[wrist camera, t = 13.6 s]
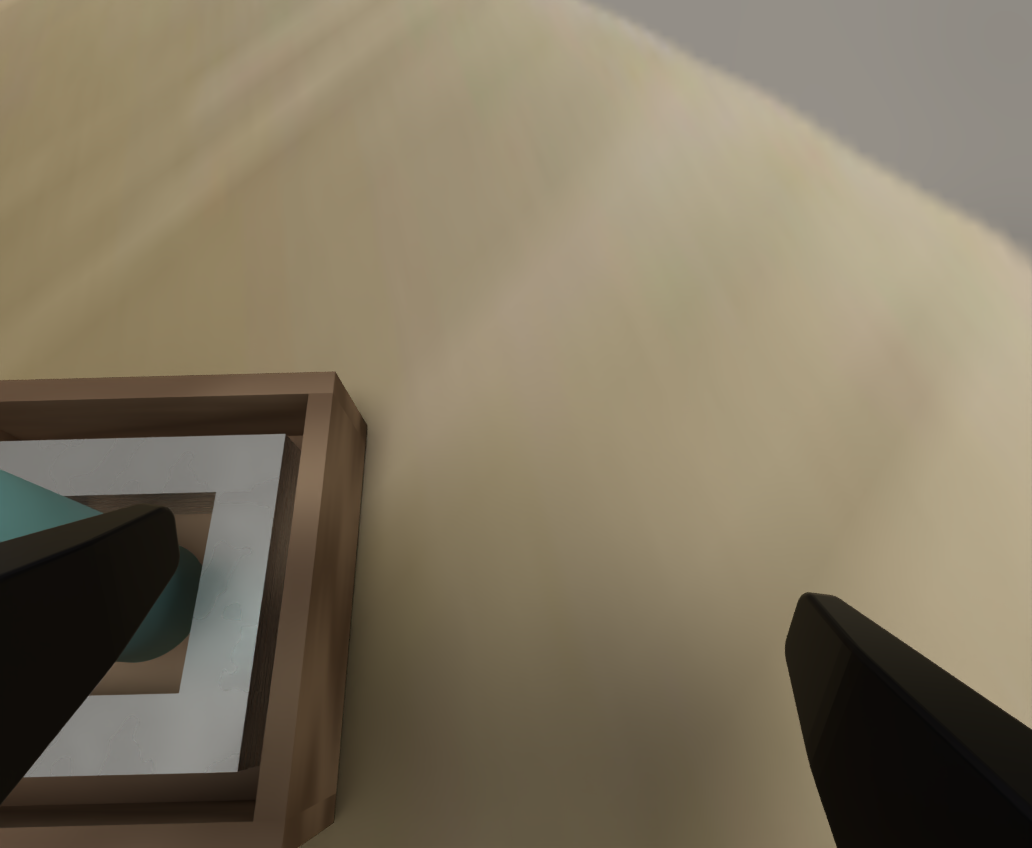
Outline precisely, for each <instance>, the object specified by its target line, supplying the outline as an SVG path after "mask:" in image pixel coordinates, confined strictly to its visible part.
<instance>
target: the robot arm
mask: <svg viewBox="0 0 1032 848" xmlns="http://www.w3.org/2000/svg"><path fill="white" fill-rule="evenodd" d="M179 560H180V551H179V544H178V536H177V529H176V522H175V516H174V513H173V511H172V510H171V509H170V508H169V507H167V506H161V505H153V504H146V503H140V504H136V505H132V506H129V507H125V508H121V509H118V510H114V511H111V512H107V513H104V514H100V515H96V516H93V517H89V518H86V519H82V520H78V521H75V522H71V523H68V524H64V525H60V526H57V527H53V528H50V529H46V530H42V531H39V532H35V533H32V534H28V535H25V536H21V537H17V538H14V539H10V540H7V541H3V542H0V805H1V804H2V803H3V802H4V800H5V799H6V798H7V797H8V795H9V794H10V793H11V792H12V790H13V789H14V788H15V787H16V785H17V784H18V783H19V782H20V781H21V779H22V778H23V777H24V776H25V774H26V773H27V772H28V771H29V769H30V768H31V767H32V766H33V764H34V763H35V762H36V761H37V759H38V758H39V757H40V756H41V754H42V753H43V752H44V751H45V749H46V748H47V747H48V746H49V745H50V743H51V742H52V741H53V740H54V738H55V737H56V736H57V735H58V733H59V732H60V731H61V730H62V728H63V727H64V726H65V725H66V723H67V722H68V721H69V720H70V718H71V717H72V716H73V715H74V713H75V712H76V711H77V710H78V709H79V707H80V706H81V705H82V704H83V702H84V701H85V700H86V699H87V697H88V696H89V695H90V694H91V692H92V691H93V690H94V689H95V687H96V686H97V685H98V684H99V682H100V681H101V680H102V679H103V677H104V676H105V675H106V674H107V672H108V671H109V670H110V668H111V667H112V666H113V665H114V663H115V662H116V661H117V659H118V658H119V656H120V655H121V653H122V652H123V651H124V649H125V648H126V646H127V645H128V643H129V642H130V640H131V639H132V637H133V636H134V634H135V633H136V631H137V630H138V628H139V627H140V625H141V624H142V622H143V621H144V619H145V618H146V616H147V615H148V613H149V612H150V610H151V609H152V607H153V605H154V604H155V602H156V601H157V599H158V598H159V596H160V595H161V593H162V592H163V590H164V589H165V587H166V586H167V584H168V583H169V581H170V580H171V578H172V577H173V575H174V574H175V572H176V570H177V567H178V565H179ZM785 657H786V662H787V667H788V671H789V676H790V680H791V685H792V689H793V694H794V698H795V703H796V707H797V712H798V716H799V721H800V725H801V730H802V734H803V739H804V744H805V748H806V752H807V756H808V760H809V764H810V768H811V771H812V774H813V777H814V780H815V784H816V787H817V790H818V793H819V796H820V799H821V802H822V805H823V808H824V810H825V813H826V816H827V819H828V822H829V825H830V828H831V831H832V834H833V837H834V840H835V843H836V846H837V848H1032V729H1030V728H1029V727H1027V726H1026V725H1024V724H1023V723H1021V722H1020V721H1019V720H1017V719H1016V718H1014V717H1013V716H1011V715H1010V714H1008V713H1007V712H1005V711H1004V710H1002V709H1001V708H999V707H998V706H997V705H995V704H994V703H992V702H991V701H989V700H988V699H986V698H985V697H983V696H982V695H980V694H979V693H977V692H976V691H974V690H973V689H972V688H970V687H969V686H967V685H966V684H964V683H963V682H961V681H960V680H958V679H957V678H955V677H954V676H952V675H951V674H950V673H948V672H947V671H945V670H944V669H942V668H941V667H939V666H938V665H936V664H935V663H933V662H932V661H930V660H929V659H928V658H926V657H925V656H923V655H922V654H920V653H919V652H917V651H916V650H914V649H913V648H911V647H910V646H908V645H907V644H906V643H904V642H903V641H901V640H900V639H898V638H897V637H895V636H894V635H892V634H891V633H889V632H888V631H886V630H885V629H883V628H882V627H881V626H879V625H878V624H876V623H875V622H873V621H872V620H870V619H869V618H867V617H866V616H864V615H863V614H861V613H860V612H859V611H857V610H856V609H854V608H853V607H851V606H850V605H848V604H847V603H845V602H844V601H842V600H841V599H839V598H838V597H836V596H833V595H827V594H819V593H811V592H806V593H804V594H803V595H801V597H800V598H799V600H798V603H797V606H796V609H795V612H794V615H793V619H792V622H791V625H790V628H789V631H788V635H787V638H786V643H785Z"/></svg>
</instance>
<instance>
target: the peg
mask: <svg viewBox="0 0 1032 848" xmlns="http://www.w3.org/2000/svg"><path fill="white" fill-rule="evenodd" d="M100 514H104V513H102V512H99V511H97V510H95V509H92V508H90V507H88V506H85V505H83V504H81V503H78V502H76V501H74V500H71V499H69V498H67V497H64V496H62V495H60V494H57V493H55V492H52V491H50V490H48V489H45V488H43V487H41V486H38V485H36V484H34V483H31V482H29V481H27V480H24V479H22V478H20V477H17V476H15V475H13V474H10V473H8V472H6V471H3V470H1V469H0V542H3V541H7V540H10V539H14V538H17V537H21V536H25V535H28V534H32V533H35V532H39V531H42V530H46V529H50V528H53V527H57V526H60V525H64V524H68V523H71V522H75V521H78V520H82V519H86V518H89V517H93V516H96V515H100ZM179 551H180V560H179V565H178V567H177V570H176V572H175V574H174V575H173V577H172V578H171V580H170V581H169V583H168V584H167V586H166V587H165V589H164V590H163V592H162V593H161V595H160V596H159V598H158V599H157V601H156V602H155V604H154V605H153V607H152V609H151V610H150V612H149V613H148V615H147V616H146V618H145V619H144V621H143V622H142V624H141V625H140V627H139V628H138V630H137V631H136V633H135V634H134V636H133V637H132V639H131V640H130V642H129V643H128V645H127V646H126V648H125V649H124V651H123V652H122V653H121V655H120V656H119V658H118V659H117V661H116V662H129V663H137V662H144V661H149V660H152V659H155V658H158V657H160V656H162V655H164V654H166V653H167V652H169V651H171V650H172V649H174V648H175V647H176V646H177V645H179V644H180V643H181V642H182V641H183V640H184V639H185V638H186V637H187V636H188V635H189V633H190V631H191V625H192V620H193V614H194V609H195V604H196V598H197V593H198V587H199V582H200V577H201V571H202V565H201V563H200V562H199V560H198V559H197V558H196V557H195V556H194V555H193V554H192V553H191V552H190V551H189V550H187V549H185V548H183V547H182V546H179Z"/></svg>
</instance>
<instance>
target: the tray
mask: <svg viewBox="0 0 1032 848" xmlns="http://www.w3.org/2000/svg"><path fill="white" fill-rule="evenodd" d="M366 434H367V424H366V423H365V421H364V419H363V418H362V416H361V414H360V412H359V411H358V409H357V407H356V406H355V404H354V402H353V401H352V399H351V397H350V396H349V394H348V392H347V391H346V389H345V387H344V386H343V384H342V382H341V380H340V379H339V377H338V375H337V374H336V372H303V373H265V374H227V375H188V376H150V377H112V378H74V379H36V380H0V469H1V470H3V471H6V472H8V473H10V474H13V475H15V476H17V477H20V478H22V479H24V480H27V481H29V482H31V483H34V484H36V485H38V486H41V487H43V488H45V489H48V490H50V491H52V492H55V493H57V494H60V495H62V496H64V497H67V498H69V499H71V500H74V501H76V502H78V503H81V504H83V505H85V506H88V507H90V508H92V509H95V510H97V511H99V512H102V513H107V512H111V511H114V510H118V509H121V508H125V507H129V506H132V505H136V504H140V503H146V504H153V505H161V506H167V507H169V508H170V509H171V510H172V511H173V513H174V516H175V522H176V529H177V536H178V544H179V546H182V547H183V548H185V549H187V550H189V551H190V552H191V553H192V554H193V555H194V556H195V557H196V558H197V559H198V560H199V562H200V563H201V565H202V571H201V577H200V582H199V587H198V593H197V598H196V604H195V609H194V614H193V620H192V625H191V631H190V633H189V635H188V636H187V637H186V638H185V639H184V640H183V641H182V642H181V643H180V644H179V645H177V646H176V647H175V648H174V649H172V650H171V651H169V652H167V653H166V654H164V655H162V656H160V657H158V658H155V659H152V660H149V661H144V662H137V663H129V662H115V663H114V665H113V666H112V667H111V668H110V670H109V671H108V672H107V674H106V675H105V676H104V677H103V679H102V680H101V681H100V682H99V684H98V685H97V686H96V687H95V689H94V690H93V691H92V692H91V694H90V695H89V696H88V697H87V699H86V700H85V701H84V702H83V704H82V705H81V706H80V707H79V709H78V710H77V711H76V712H75V713H74V715H73V716H72V717H71V718H70V720H69V721H68V722H67V723H66V725H65V726H64V727H63V728H62V730H61V731H60V732H59V733H58V735H57V736H56V737H55V738H54V740H53V741H52V742H51V743H50V745H49V746H48V747H47V748H46V749H45V751H44V752H43V753H42V754H41V756H40V757H39V758H38V759H37V761H36V762H35V763H34V764H33V766H32V767H31V768H30V769H29V771H28V772H27V773H26V774H25V776H24V777H23V778H22V779H21V781H20V782H19V783H18V784H17V785H16V787H15V788H14V789H13V790H12V792H11V793H10V794H9V795H8V797H7V798H6V799H5V800H4V802H3V803H2V804H1V805H0V848H298V847H299V846H301V845H302V844H304V843H305V842H307V841H308V840H310V839H311V838H312V837H314V836H315V835H317V834H318V833H320V832H321V831H323V830H324V829H325V828H327V827H328V826H330V825H331V824H333V823H334V814H335V802H336V790H337V779H338V767H339V755H340V743H341V731H342V719H343V707H344V695H345V683H346V672H347V660H348V648H349V636H350V624H351V612H352V600H353V588H354V576H355V564H356V553H357V541H358V529H359V517H360V505H361V493H362V481H363V469H364V457H365V445H366Z"/></svg>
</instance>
